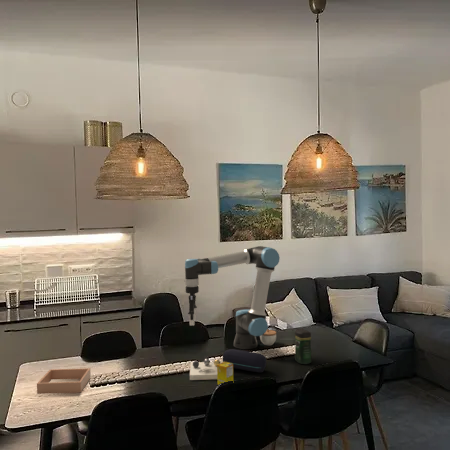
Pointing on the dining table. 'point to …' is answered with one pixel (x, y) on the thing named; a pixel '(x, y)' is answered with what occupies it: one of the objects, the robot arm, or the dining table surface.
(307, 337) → the coffee jar
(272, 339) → the lidded jar
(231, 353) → the portable speaker
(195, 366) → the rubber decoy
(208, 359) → the ball
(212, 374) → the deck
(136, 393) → the dining table surface
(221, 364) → the supplement box
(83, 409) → the dining table surface
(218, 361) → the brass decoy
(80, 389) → the brown square tray
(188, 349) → the dining table surface
